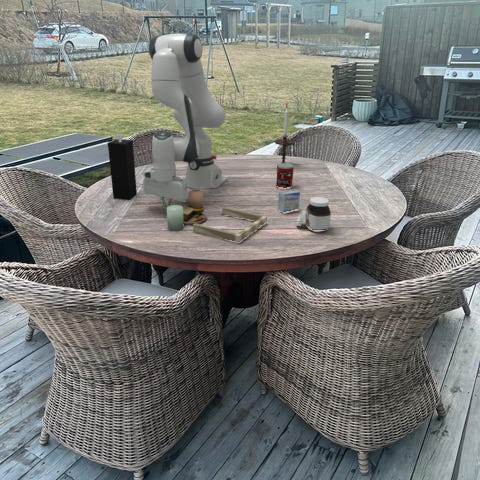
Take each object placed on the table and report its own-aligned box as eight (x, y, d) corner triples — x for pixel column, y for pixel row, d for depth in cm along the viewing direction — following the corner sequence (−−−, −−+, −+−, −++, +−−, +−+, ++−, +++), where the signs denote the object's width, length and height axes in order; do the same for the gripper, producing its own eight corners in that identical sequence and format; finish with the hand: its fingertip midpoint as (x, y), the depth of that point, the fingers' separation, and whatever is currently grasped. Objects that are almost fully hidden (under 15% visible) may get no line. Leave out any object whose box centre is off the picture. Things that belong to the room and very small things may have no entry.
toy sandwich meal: (196, 228, 169) (196, 216, 167) (166, 222, 174) (165, 210, 172) (212, 217, 179) (212, 206, 177) (183, 211, 184) (182, 201, 182)
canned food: (274, 188, 214) (275, 166, 210) (279, 184, 221) (280, 162, 216) (289, 190, 212) (290, 168, 207) (293, 186, 218) (295, 164, 214)
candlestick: (287, 170, 244) (291, 104, 229) (270, 167, 249) (273, 102, 234) (296, 166, 252) (301, 102, 237) (279, 163, 257) (283, 100, 243)
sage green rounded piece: (174, 223, 172) (173, 203, 169) (186, 226, 169) (186, 206, 166) (164, 228, 167) (163, 208, 164) (177, 232, 165) (176, 211, 161)
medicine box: (282, 214, 183) (284, 194, 180) (277, 211, 187) (278, 191, 183) (298, 211, 187) (300, 192, 183) (292, 208, 190) (294, 188, 186)
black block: (129, 200, 195) (124, 136, 183) (113, 199, 196) (106, 134, 184) (137, 194, 202) (132, 132, 190) (121, 193, 203) (115, 131, 191)
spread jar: (331, 233, 167) (335, 203, 162) (304, 236, 164) (306, 206, 159) (317, 221, 177) (320, 193, 172) (291, 223, 174) (293, 195, 169)
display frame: (224, 213, 182) (224, 206, 181) (266, 223, 174) (267, 216, 172) (193, 232, 165) (192, 224, 164) (238, 243, 156) (239, 236, 155)
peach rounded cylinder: (194, 204, 192) (193, 188, 189) (205, 206, 190) (205, 191, 187) (185, 208, 187) (185, 192, 185) (197, 211, 185) (197, 194, 182)
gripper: (190, 176, 174) (191, 209, 180) (150, 168, 183) (152, 200, 189) (181, 180, 169) (182, 214, 175) (139, 172, 178) (142, 204, 184)
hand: (166, 207), depth 182 cm, fingers closed
